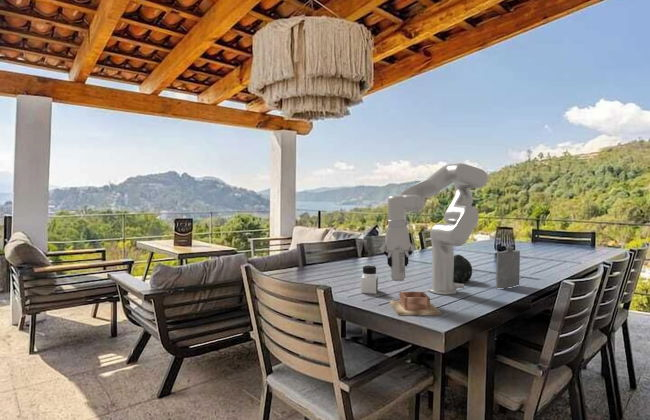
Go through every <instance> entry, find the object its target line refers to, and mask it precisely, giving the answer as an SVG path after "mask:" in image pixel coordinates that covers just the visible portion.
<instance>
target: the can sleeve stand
mask: <svg viewBox="0 0 650 420" xmlns="http://www.w3.org/2000/svg"><path fill="white" fill-rule="evenodd" d="M398 296H399V299H398V300H389V304H390V305H391V307H392V308H393V311H394V312H395V313H396V314H397V316H441V315H442V312H441V311H440V309H438V308H437V307H436V306H435V305H434V304H432V302H431V298H430V296H429V295H427V294H426V293H425V292H424V291H399V295H398Z"/></svg>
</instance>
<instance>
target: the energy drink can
mask: <svg viewBox="0 0 650 420" xmlns="http://www.w3.org/2000/svg"><path fill="white" fill-rule="evenodd" d="M391 258H392V267H390V278H391V281H394V282H403V281H405V279H406V266H405V251H404V249H402V248H401V246H397V247H396V248H395V249H394V250H393V251H392V254H391Z"/></svg>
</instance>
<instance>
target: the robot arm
mask: <svg viewBox="0 0 650 420" xmlns="http://www.w3.org/2000/svg"><path fill="white" fill-rule="evenodd" d="M488 180H489V177H488V174H487V172H486V171H485V170H483V169H482V168H479V167H475V166H473V165H470V164H466V163H460V162H459V163H449V164H446V165H443V166H442V167H440V168H439V169H437V170H436V171H435V172H434V173H433V174H431V175H430V176H428V177H427V178H426V179H423V180H422V181H419V182H417V183H416V184H413V185H411V186H409V187H407V188H406V189H404V190H403V191H402V192H400V193H399V194H398V195H391V196H388V199H387V218H388V221H387V224H388V225H387V226H388V227H386V228H385V238H384V243H383V244H382V245H381V246H380V248H379V251H380V252H381V253H382V254H384V255H385V256H386V259H387V260H386V261H387V262H386V263H387V265H388V266H389V268H391V267H392V258H391V254H392V251H393V250H394V249H395V248H396V247H397V246H401V248H402V249H404V251H405V268H406V267H408V265H409V257H410V256H411V255H412V254H413V253H414V251H416V247H415V245H414V244H412V242H411V240H410V233H409V227H408V225H410V221H407V213H417V212H420V211H422V209H423V208H424V207H425V200H424V199H427V198H430V197H434V196H436V195H439V194H440V193H441V192H442V191H444V190H445V189H446V188H447V187H449V186H450V185H452V184H453V186H454V190H455V192H454V193H455V194H454V197H453V199H452V200H451V202H450V204H449V206H448V207H447V209H446V210H445V213H444V214H443V221H444V222H445V223H444V222H443V223H441V222H440V223H436V224H434V225H433V226H432V227H431V228H430V231H429V232H430V234H429V235H430V242H431V249H432V250H431V251H432V254H431V257H432V259H431V263H432V265H431V286H429V287H428V291H429V293H433V294H437V295H446V296H447V295H455V294H457V292H458V290H457V289H464V288H465V284H464V283H460V282H454V281H453V274H454V256H455V252H454V249H453V247H452V246H454V247H460V246H464V245H465V244H466V243H467V241H468V240H469V239H470V237H471V235H472V233H473V231H474V229H475V228H476V226H477V225H478V222H479V215H480V214H479V211H478V209H477V208H476V207H475V206H473V205H472V204H473V201H474V198H473V194H472V192H471V189H480V188H483V187H485V186H486V185H487V183H488V182H489V181H488ZM386 250H387V251H386Z"/></svg>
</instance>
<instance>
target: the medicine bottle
mask: <svg viewBox="0 0 650 420" xmlns="http://www.w3.org/2000/svg"><path fill="white" fill-rule="evenodd" d="M378 276H379V275H377V266H375V265H372V264H371V265H369V264H368V265H364V266H363V267H362V276H361V277H360V293H361V294H371V295H372V294H374V295H375V294H376V295H377V293H378V286H379V283H378V281H379V277H378Z"/></svg>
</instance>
